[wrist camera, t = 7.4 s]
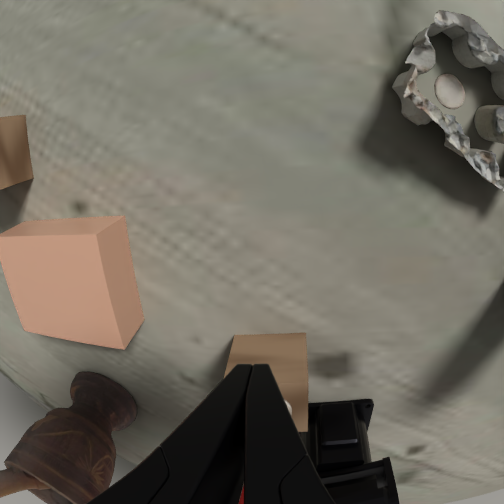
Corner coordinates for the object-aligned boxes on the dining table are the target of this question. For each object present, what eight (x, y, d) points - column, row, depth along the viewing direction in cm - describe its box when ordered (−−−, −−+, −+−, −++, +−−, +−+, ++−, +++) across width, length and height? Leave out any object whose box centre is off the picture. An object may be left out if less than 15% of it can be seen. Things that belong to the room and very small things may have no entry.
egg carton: (374, 100, 16) (396, 94, 12) (425, 12, 13) (453, -8, 9) (493, 200, 17) (528, 218, 13) (535, 117, 14) (571, 122, 10)
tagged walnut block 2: (306, 382, 24) (307, 433, 19) (243, 383, 24) (233, 433, 20) (305, 332, 22) (308, 384, 17) (234, 334, 22) (221, 385, 18)
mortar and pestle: (49, 388, 29) (-35, 513, 10) (42, 335, 25) (-76, 479, 7) (139, 432, 29) (75, 584, 11) (146, 386, 26) (58, 581, 7)
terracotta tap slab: (145, 317, 23) (124, 349, 20) (50, 306, 24) (24, 330, 21) (127, 214, 20) (96, 234, 17) (26, 220, 21) (-6, 237, 18)
